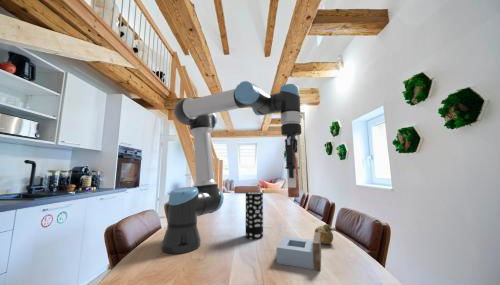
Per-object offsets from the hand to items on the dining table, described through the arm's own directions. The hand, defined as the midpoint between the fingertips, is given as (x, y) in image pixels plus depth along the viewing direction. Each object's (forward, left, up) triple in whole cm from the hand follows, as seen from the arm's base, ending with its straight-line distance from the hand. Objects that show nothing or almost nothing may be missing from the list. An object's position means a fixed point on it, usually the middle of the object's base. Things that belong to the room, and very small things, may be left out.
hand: (293, 186), depth 74 cm
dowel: (0, 0, -4) cm, 4 cm away
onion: (+9, +21, -25) cm, 34 cm away
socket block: (0, +1, -25) cm, 25 cm away
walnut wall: (+7, +1, -25) cm, 26 cm away
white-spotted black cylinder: (-22, +18, -25) cm, 38 cm away
